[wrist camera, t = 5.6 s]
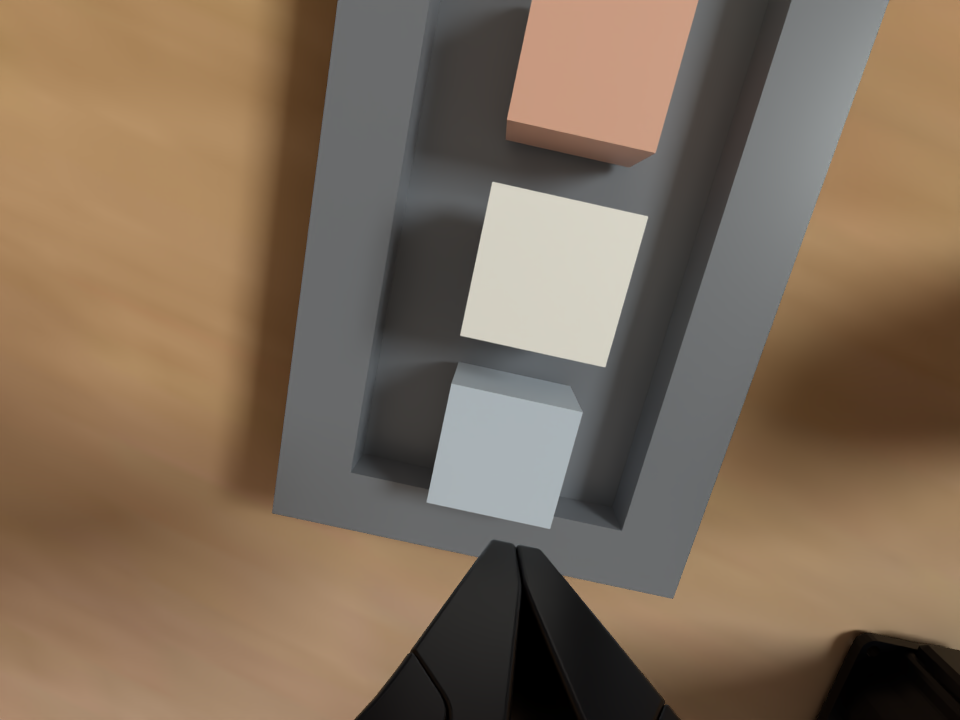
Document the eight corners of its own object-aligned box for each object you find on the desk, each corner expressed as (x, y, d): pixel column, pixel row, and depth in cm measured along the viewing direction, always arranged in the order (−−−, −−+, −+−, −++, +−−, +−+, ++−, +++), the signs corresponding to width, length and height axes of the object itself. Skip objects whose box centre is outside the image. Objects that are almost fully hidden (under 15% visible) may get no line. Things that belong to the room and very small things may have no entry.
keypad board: (651, 554, 20) (673, 598, 17) (300, 479, 19) (272, 513, 17) (918, -230, 14) (1008, -332, 11) (416, -348, 13) (399, -478, 11)
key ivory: (588, 346, 15) (605, 367, 13) (466, 319, 15) (459, 335, 13) (622, 220, 14) (648, 216, 12) (493, 191, 14) (492, 181, 12)
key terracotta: (629, 167, 15) (655, 153, 12) (505, 139, 15) (506, 119, 12) (667, 27, 14) (703, -19, 12) (535, -3, 14) (543, -56, 12)
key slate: (542, 487, 18) (549, 528, 15) (437, 464, 18) (426, 502, 15) (570, 386, 17) (582, 412, 14) (458, 361, 17) (451, 383, 14)
